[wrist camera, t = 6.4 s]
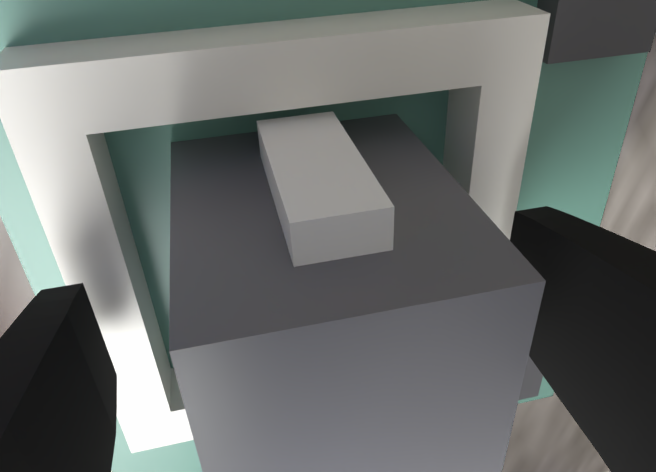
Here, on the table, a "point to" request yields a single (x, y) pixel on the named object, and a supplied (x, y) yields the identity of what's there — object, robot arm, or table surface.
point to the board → (277, 102)
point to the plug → (342, 303)
